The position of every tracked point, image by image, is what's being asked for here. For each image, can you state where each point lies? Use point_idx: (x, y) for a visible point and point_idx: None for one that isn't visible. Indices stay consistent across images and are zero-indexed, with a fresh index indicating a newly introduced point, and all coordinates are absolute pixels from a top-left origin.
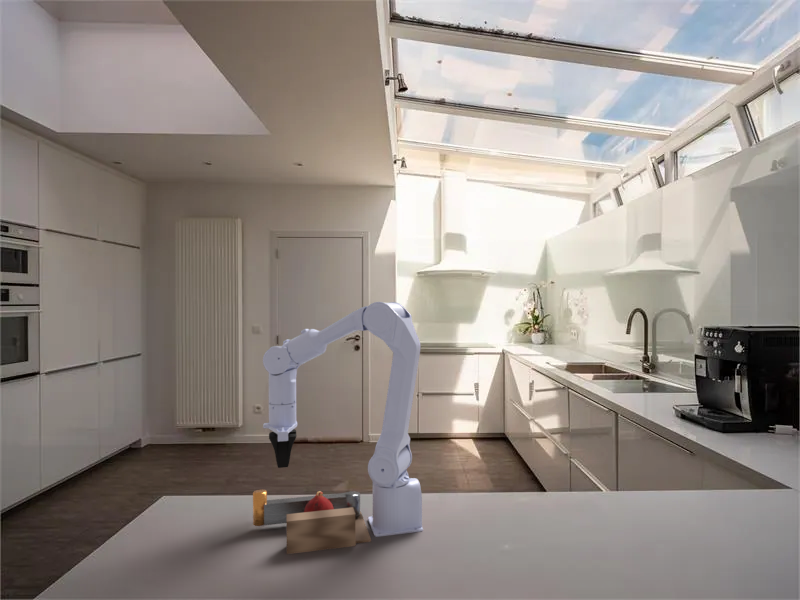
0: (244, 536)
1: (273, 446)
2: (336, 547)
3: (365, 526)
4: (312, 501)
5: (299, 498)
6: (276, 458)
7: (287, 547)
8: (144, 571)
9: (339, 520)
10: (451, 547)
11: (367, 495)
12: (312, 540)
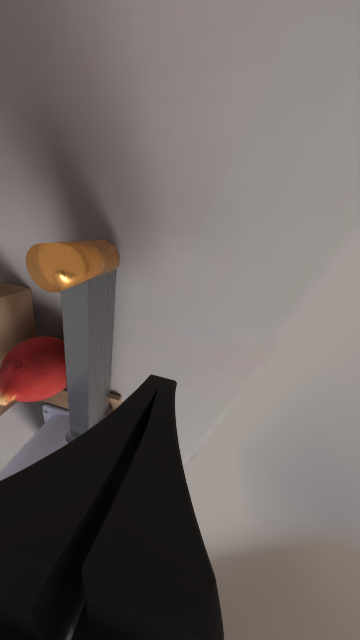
0: (88, 216)
1: (50, 454)
2: None
3: (64, 407)
4: (3, 374)
5: (80, 359)
6: (127, 399)
7: None
8: None
9: None
10: (16, 446)
11: (187, 455)
12: None
